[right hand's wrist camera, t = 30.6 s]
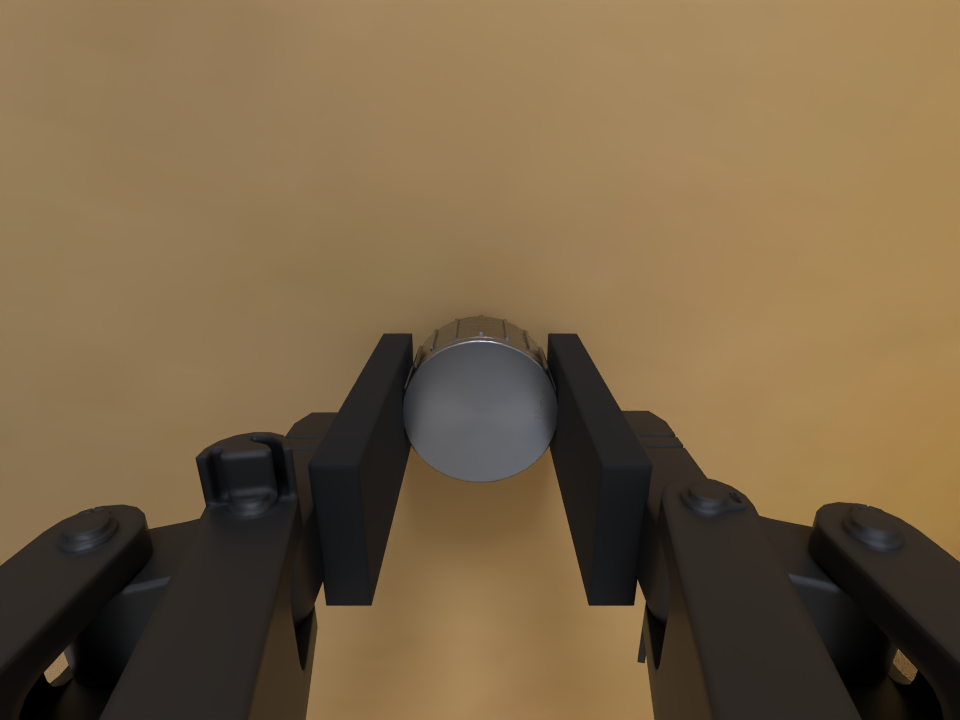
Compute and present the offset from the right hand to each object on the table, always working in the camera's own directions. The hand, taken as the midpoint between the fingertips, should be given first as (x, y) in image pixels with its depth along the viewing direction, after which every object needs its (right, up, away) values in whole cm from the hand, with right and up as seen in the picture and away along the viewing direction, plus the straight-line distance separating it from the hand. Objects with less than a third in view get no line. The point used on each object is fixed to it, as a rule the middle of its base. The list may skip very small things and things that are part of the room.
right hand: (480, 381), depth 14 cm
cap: (0, -1, -2) cm, 2 cm away
